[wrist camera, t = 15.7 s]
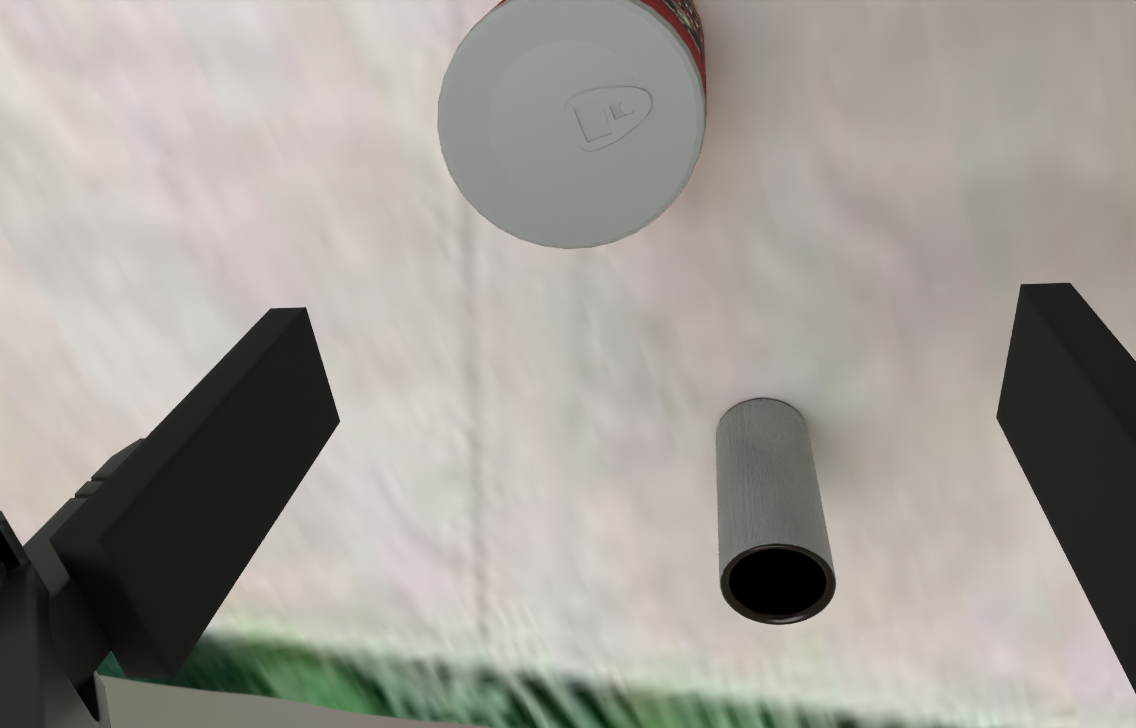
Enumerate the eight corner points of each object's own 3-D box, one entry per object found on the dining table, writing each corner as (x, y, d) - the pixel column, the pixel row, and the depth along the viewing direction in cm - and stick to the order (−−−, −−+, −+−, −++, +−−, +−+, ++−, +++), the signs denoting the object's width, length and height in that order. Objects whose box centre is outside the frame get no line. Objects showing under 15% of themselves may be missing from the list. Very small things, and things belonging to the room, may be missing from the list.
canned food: (742, 70, 33) (758, 154, 24) (584, 184, 36) (544, 297, 27) (628, -104, 31) (596, -85, 21) (469, 36, 34) (381, 105, 25)
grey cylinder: (768, 484, 44) (785, 642, 35) (697, 441, 43) (697, 591, 34) (827, 428, 41) (861, 581, 33) (753, 381, 40) (768, 526, 32)
